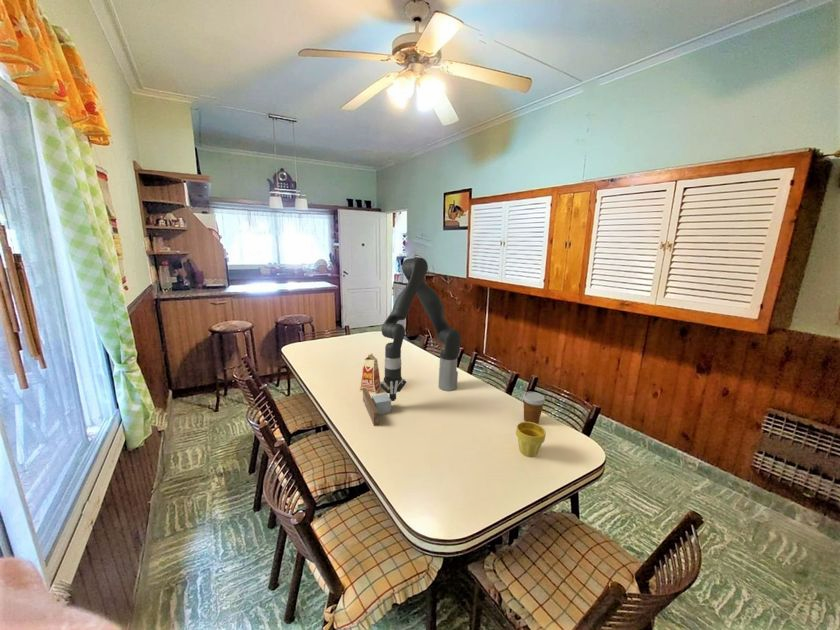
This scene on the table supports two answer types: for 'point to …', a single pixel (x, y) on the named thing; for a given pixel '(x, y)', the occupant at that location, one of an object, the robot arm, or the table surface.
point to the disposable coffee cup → (533, 406)
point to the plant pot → (530, 438)
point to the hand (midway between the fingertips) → (392, 400)
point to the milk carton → (370, 375)
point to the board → (370, 407)
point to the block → (382, 403)
